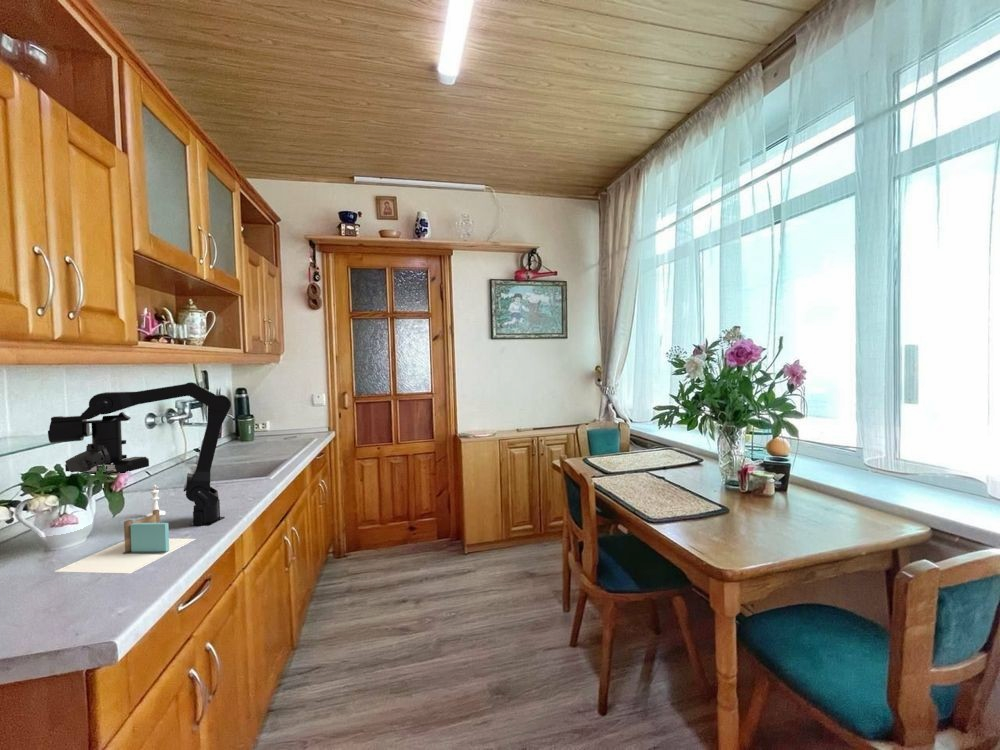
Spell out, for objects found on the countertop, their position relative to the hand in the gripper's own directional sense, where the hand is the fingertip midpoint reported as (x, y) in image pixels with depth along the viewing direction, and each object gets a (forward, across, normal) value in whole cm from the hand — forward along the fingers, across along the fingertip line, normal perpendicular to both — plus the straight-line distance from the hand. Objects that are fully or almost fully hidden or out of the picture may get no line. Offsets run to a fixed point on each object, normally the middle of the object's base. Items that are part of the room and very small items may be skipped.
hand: (109, 495), depth 108 cm
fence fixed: (+13, +12, -2) cm, 18 cm away
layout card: (+13, +14, -7) cm, 20 cm away
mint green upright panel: (+12, +17, -6) cm, 22 cm away
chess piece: (+13, -6, +19) cm, 24 cm away
